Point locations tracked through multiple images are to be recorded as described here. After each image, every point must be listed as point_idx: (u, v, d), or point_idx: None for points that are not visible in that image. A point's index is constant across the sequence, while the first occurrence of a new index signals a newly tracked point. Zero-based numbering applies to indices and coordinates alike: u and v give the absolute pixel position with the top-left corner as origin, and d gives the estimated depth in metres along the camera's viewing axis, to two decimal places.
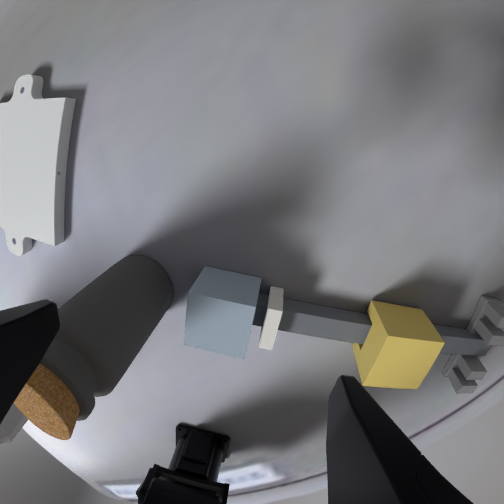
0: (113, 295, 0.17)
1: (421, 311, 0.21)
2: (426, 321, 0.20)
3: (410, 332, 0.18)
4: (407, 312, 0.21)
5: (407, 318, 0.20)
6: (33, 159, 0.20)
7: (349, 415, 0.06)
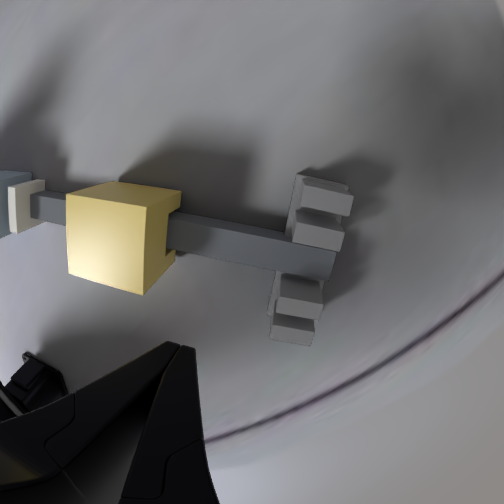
0: None
1: (175, 191, 0.17)
2: (163, 196, 0.16)
3: (105, 195, 0.14)
4: (147, 189, 0.17)
5: (134, 191, 0.16)
6: None
7: None
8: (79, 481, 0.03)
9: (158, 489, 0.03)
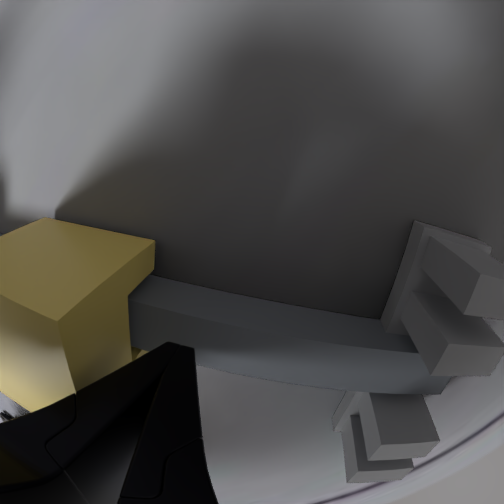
0: None
1: (142, 243, 0.09)
2: (114, 261, 0.07)
3: (1, 269, 0.05)
4: (90, 239, 0.08)
5: (64, 248, 0.07)
6: None
7: None
8: (80, 481, 0.03)
9: (157, 489, 0.03)
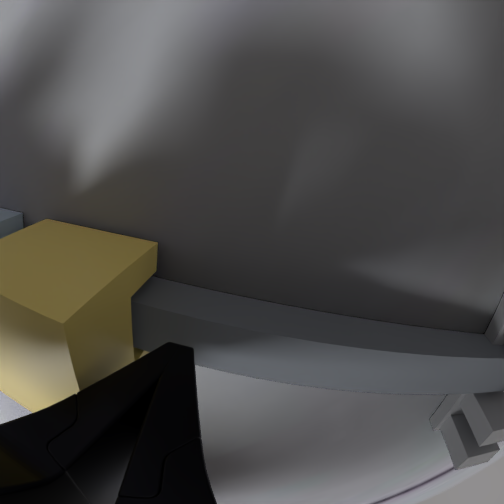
0: None
1: (145, 245, 0.09)
2: (117, 263, 0.07)
3: (4, 271, 0.06)
4: (93, 240, 0.08)
5: (67, 250, 0.08)
6: None
7: None
8: (82, 482, 0.03)
9: (155, 488, 0.03)
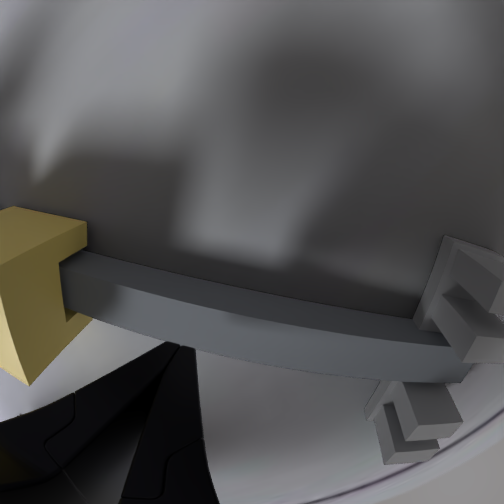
0: None
1: (75, 223, 0.10)
2: (49, 235, 0.09)
3: None
4: (39, 220, 0.10)
5: (18, 227, 0.09)
6: None
7: None
8: (79, 481, 0.03)
9: (158, 489, 0.03)
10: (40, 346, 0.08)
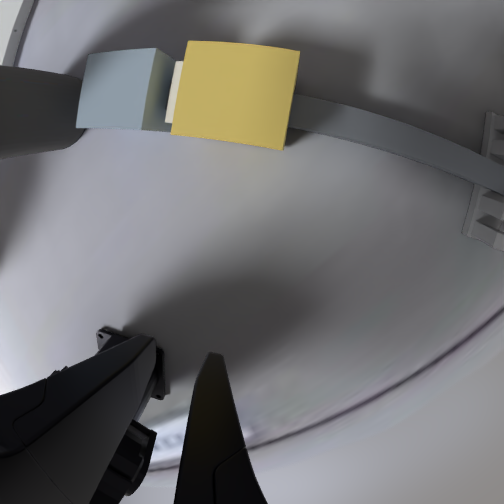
0: (16, 67, 0.10)
1: None
2: None
3: None
4: None
5: None
6: None
7: None
8: (44, 461, 0.03)
9: (210, 503, 0.03)
10: None
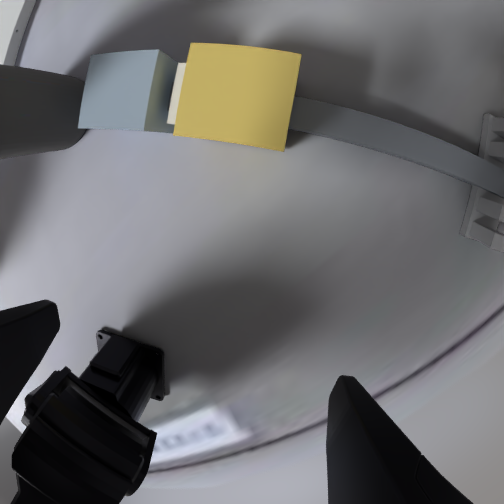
0: None
1: None
2: None
3: None
4: None
5: None
6: (0, 27, 0.13)
7: (349, 415, 0.06)
8: None
9: (431, 503, 0.03)
10: None
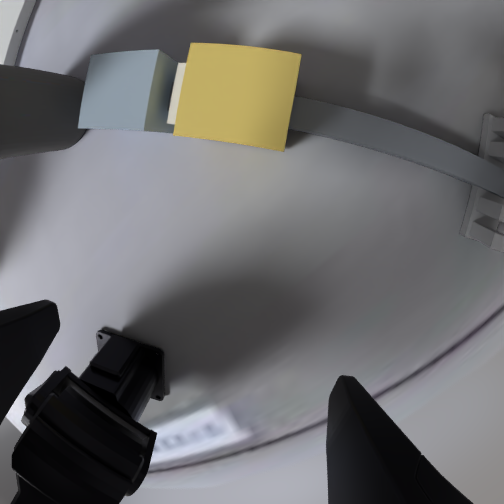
0: None
1: None
2: None
3: None
4: None
5: None
6: (0, 27, 0.13)
7: (349, 415, 0.06)
8: None
9: (431, 503, 0.03)
10: None
